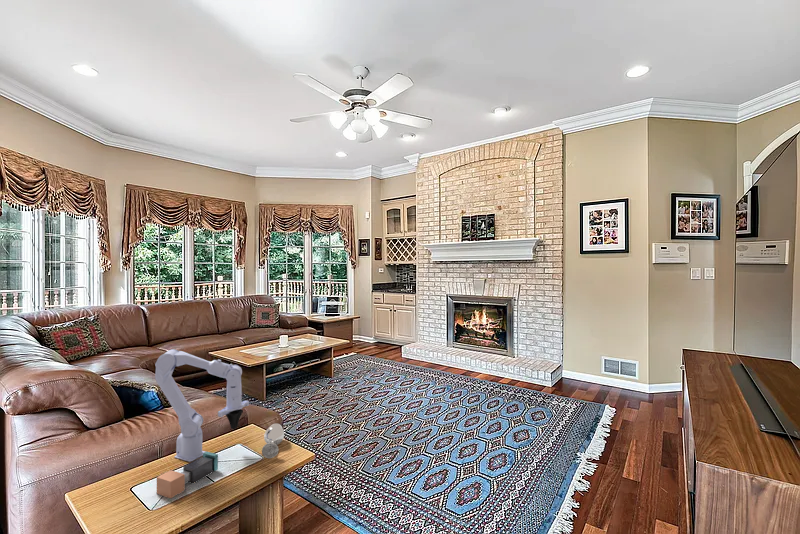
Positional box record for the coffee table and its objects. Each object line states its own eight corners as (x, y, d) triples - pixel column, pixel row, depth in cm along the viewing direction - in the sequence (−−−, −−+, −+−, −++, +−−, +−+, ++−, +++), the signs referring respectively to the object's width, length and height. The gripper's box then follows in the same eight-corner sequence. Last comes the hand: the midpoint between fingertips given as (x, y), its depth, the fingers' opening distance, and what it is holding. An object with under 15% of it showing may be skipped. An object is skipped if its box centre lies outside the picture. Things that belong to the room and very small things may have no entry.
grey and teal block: (164, 488, 130) (164, 472, 130) (206, 466, 145) (206, 451, 145) (176, 492, 127) (176, 476, 127) (217, 469, 142) (217, 454, 142)
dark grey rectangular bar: (183, 480, 135) (183, 466, 135) (202, 469, 143) (202, 456, 143) (193, 483, 133) (193, 469, 133) (212, 472, 141) (212, 459, 141)
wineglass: (283, 456, 152) (287, 435, 170) (277, 437, 152) (282, 418, 169) (262, 463, 151) (268, 441, 168) (257, 444, 150) (263, 424, 168)
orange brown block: (156, 493, 127) (156, 477, 128) (170, 485, 132) (170, 470, 132) (170, 498, 125) (170, 481, 125) (184, 490, 129) (184, 474, 129)
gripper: (226, 402, 150) (226, 436, 150) (254, 391, 163) (254, 423, 163) (214, 399, 153) (214, 433, 153) (242, 389, 166) (242, 420, 166)
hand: (234, 428), depth 158 cm, fingers closed
